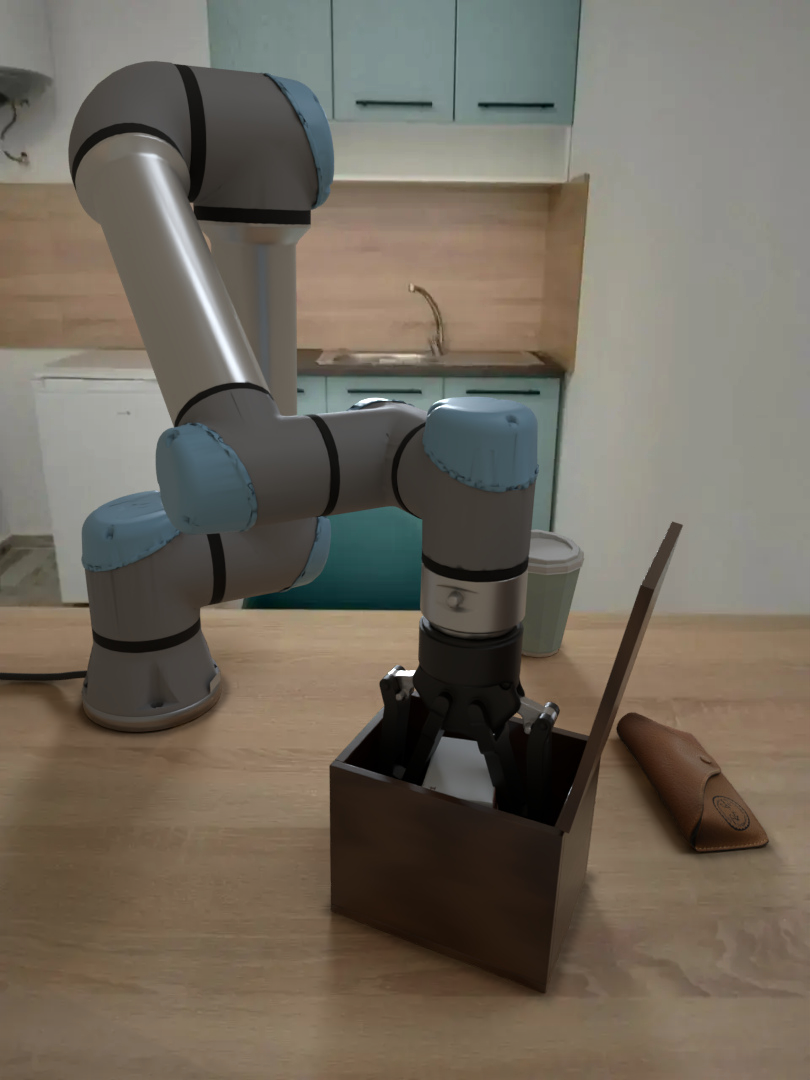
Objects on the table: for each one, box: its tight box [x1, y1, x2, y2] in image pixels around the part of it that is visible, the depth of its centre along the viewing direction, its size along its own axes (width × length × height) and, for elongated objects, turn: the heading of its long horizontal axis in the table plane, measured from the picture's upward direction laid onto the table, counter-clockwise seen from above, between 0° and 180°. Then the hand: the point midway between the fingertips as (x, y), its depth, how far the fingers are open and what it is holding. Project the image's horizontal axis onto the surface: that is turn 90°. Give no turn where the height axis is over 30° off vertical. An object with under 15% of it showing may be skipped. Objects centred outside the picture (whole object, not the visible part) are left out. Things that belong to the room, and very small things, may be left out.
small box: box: [422, 737, 498, 810], centre depth 66 cm, size 8×6×10 cm
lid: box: [558, 521, 684, 834], centre depth 56 cm, size 18×13×1 cm
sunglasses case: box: [615, 711, 770, 853], centre depth 81 cm, size 18×7×7 cm
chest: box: [328, 690, 602, 994], centre depth 66 cm, size 18×13×14 cm
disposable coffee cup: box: [521, 529, 585, 658], centre depth 107 cm, size 11×11×15 cm
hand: (457, 873), depth 68 cm, fingers closed on small box, 6 cm apart
